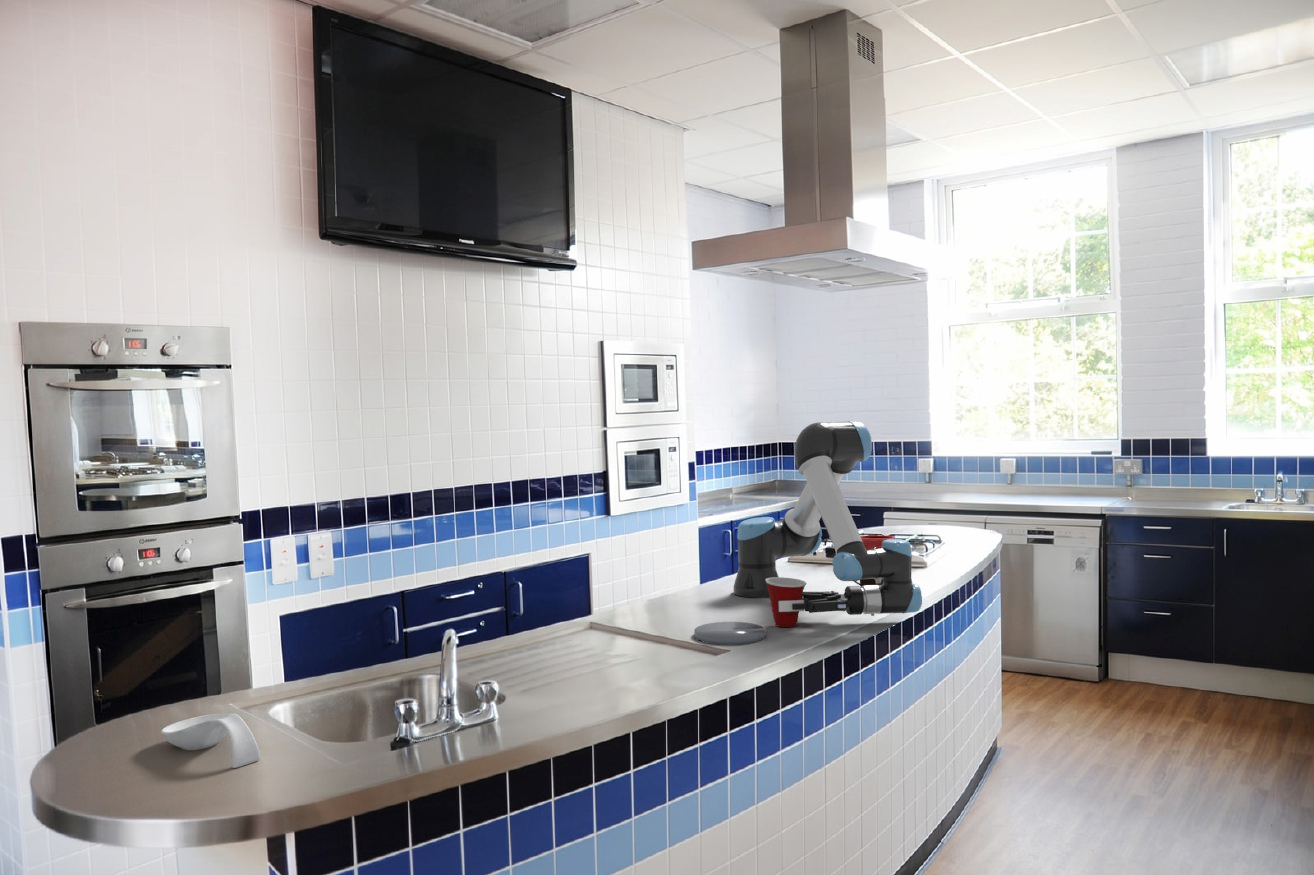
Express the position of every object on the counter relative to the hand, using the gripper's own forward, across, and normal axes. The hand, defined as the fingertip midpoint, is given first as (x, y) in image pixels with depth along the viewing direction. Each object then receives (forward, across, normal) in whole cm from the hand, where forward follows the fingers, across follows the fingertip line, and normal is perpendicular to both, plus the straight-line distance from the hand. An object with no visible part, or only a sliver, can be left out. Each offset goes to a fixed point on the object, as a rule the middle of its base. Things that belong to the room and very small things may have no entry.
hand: (776, 602), depth 237 cm
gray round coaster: (+14, -8, -6) cm, 17 cm away
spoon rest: (+112, -77, -7) cm, 136 cm away
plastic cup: (-3, 0, -6) cm, 7 cm away
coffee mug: (-34, +37, -6) cm, 51 cm away
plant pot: (-49, +79, -7) cm, 93 cm away
